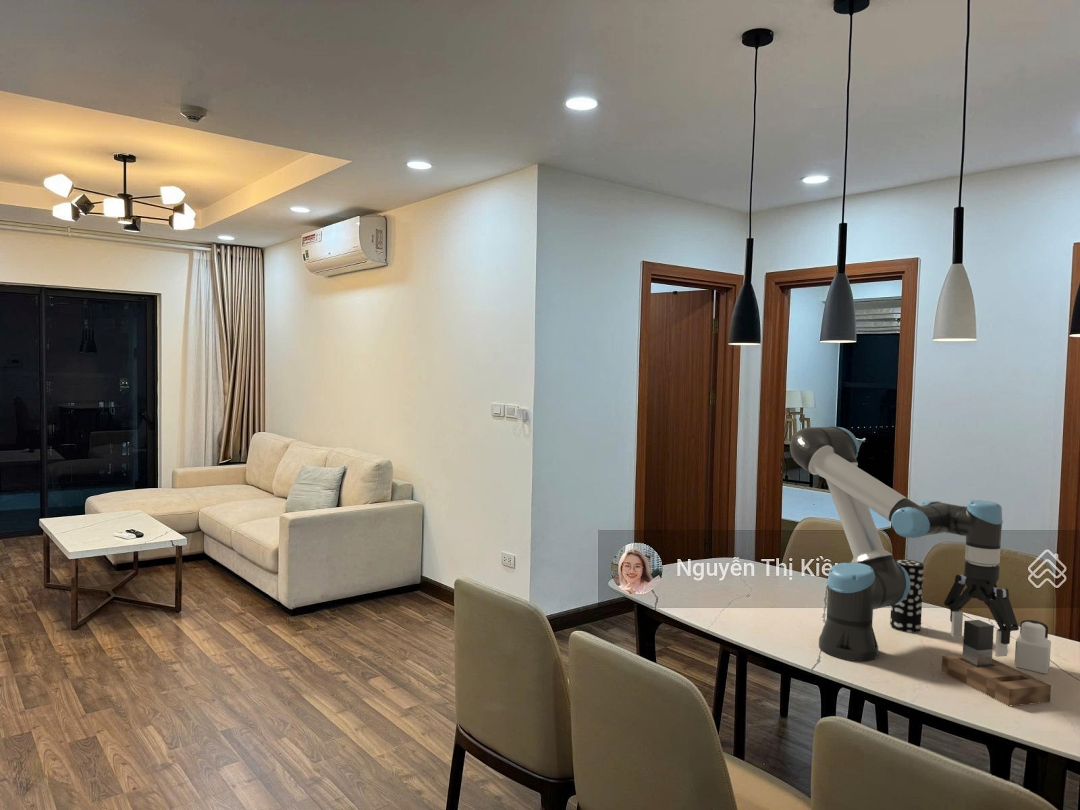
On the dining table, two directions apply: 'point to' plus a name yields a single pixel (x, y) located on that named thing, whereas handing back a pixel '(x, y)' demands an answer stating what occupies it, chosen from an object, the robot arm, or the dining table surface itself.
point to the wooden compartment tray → (998, 681)
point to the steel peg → (978, 643)
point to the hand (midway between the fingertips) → (977, 645)
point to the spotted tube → (909, 600)
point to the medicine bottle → (1033, 647)
